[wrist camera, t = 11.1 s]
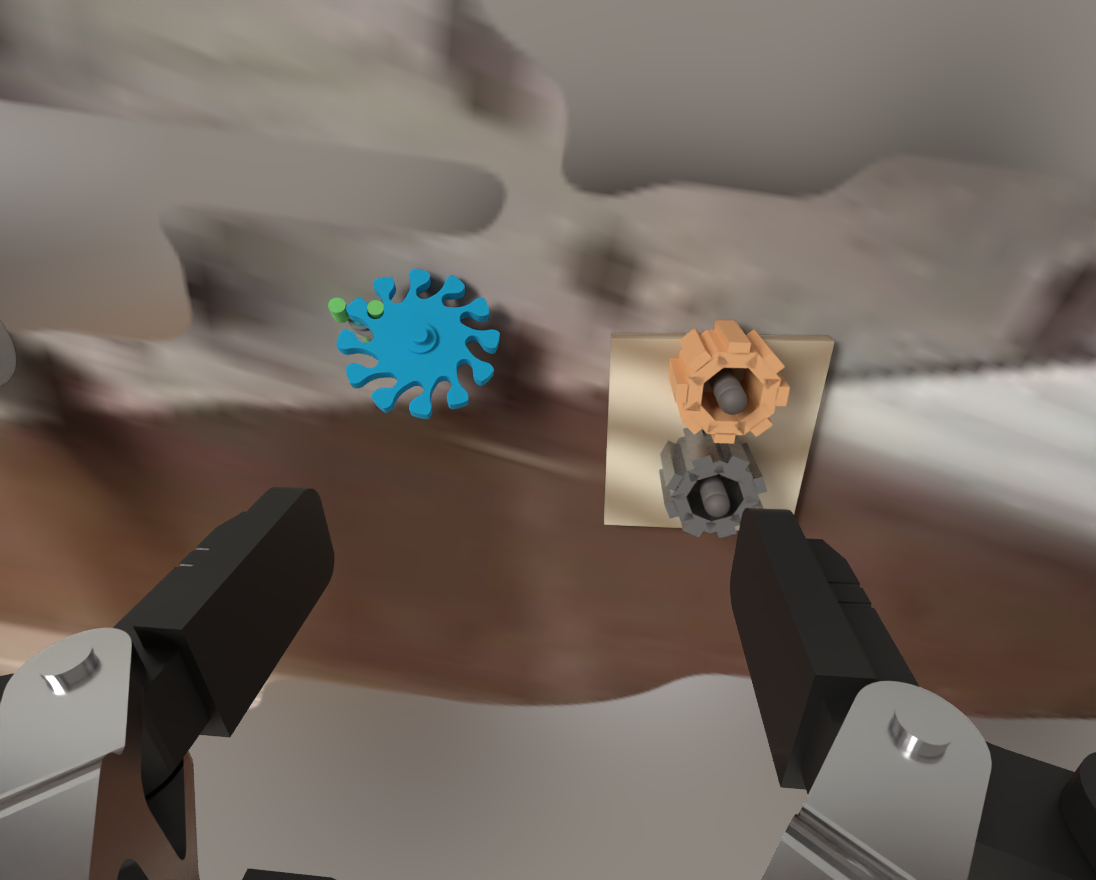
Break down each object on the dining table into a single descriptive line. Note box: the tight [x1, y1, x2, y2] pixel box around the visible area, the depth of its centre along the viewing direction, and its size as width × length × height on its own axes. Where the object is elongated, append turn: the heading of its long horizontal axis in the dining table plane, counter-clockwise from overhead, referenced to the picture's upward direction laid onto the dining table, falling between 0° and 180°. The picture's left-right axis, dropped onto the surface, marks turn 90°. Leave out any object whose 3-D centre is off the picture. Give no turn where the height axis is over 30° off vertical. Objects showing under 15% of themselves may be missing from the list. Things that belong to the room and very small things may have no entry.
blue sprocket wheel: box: [328, 268, 500, 419], centre depth 37 cm, size 11×6×10 cm
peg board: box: [604, 333, 835, 531], centre depth 37 cm, size 15×14×7 cm
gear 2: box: [659, 428, 767, 538], centre depth 38 cm, size 6×6×4 cm
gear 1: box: [668, 320, 790, 444], centre depth 34 cm, size 6×6×4 cm
